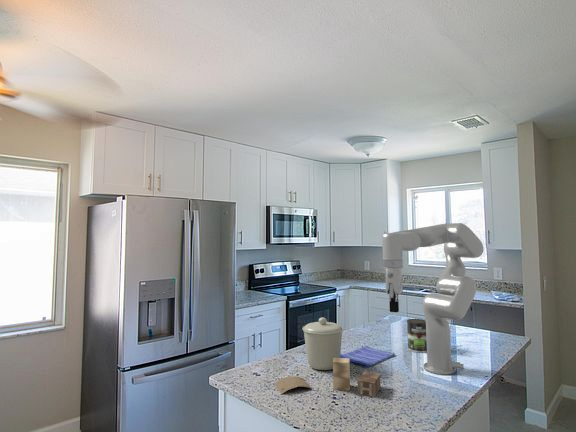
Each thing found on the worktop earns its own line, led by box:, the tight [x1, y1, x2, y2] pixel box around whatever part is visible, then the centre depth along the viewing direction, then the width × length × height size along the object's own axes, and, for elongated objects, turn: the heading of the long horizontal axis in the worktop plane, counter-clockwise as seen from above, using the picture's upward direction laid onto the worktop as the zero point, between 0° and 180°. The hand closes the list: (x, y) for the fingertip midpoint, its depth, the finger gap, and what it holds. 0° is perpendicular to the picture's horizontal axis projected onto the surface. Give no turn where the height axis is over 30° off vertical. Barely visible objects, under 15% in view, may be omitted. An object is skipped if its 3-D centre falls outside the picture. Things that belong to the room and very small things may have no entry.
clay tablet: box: [273, 375, 313, 395], centre depth 137 cm, size 14×10×3 cm
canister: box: [302, 317, 345, 371], centre depth 159 cm, size 18×18×21 cm
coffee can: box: [406, 318, 427, 354], centre depth 180 cm, size 10×10×14 cm
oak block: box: [332, 358, 351, 392], centre depth 136 cm, size 6×5×10 cm
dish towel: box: [340, 345, 396, 369], centre depth 169 cm, size 17×24×3 cm
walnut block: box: [357, 370, 381, 398], centre depth 133 cm, size 6×5×10 cm
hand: (394, 311), depth 140 cm, fingers closed
